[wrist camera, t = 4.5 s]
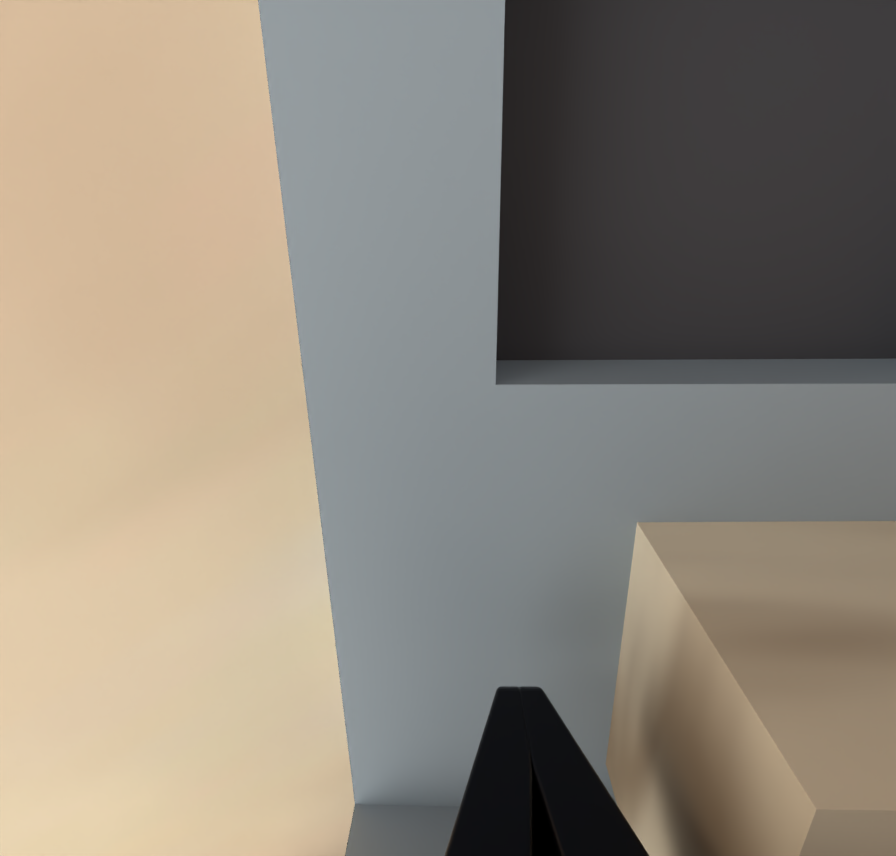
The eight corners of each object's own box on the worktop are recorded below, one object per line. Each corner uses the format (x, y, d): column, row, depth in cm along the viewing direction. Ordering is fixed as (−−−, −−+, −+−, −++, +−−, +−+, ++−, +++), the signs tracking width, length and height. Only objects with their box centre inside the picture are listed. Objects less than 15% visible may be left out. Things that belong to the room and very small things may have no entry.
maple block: (894, 767, 10) (1197, 1136, 6) (605, 763, 10) (702, 1117, 6) (1002, 520, 8) (1593, 822, 4) (636, 522, 8) (816, 808, 4)
